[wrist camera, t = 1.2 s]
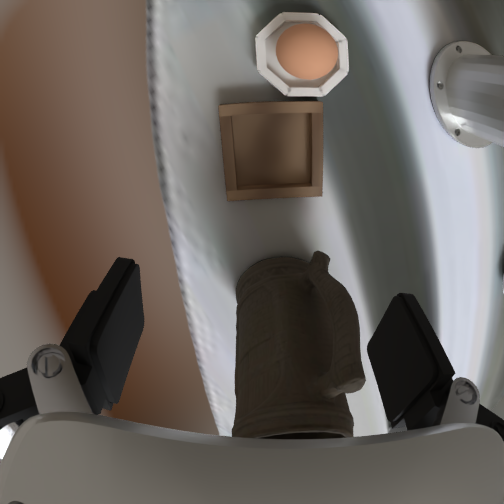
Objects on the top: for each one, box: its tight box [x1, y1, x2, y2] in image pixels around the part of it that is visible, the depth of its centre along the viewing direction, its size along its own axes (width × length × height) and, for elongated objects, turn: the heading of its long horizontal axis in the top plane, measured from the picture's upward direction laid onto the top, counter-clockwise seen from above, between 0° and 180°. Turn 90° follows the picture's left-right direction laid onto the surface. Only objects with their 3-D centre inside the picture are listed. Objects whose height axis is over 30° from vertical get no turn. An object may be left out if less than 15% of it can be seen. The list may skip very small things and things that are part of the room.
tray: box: [218, 101, 323, 201], centre depth 27 cm, size 9×9×2 cm
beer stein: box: [232, 251, 366, 440], centre depth 27 cm, size 15×11×20 cm
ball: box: [276, 24, 338, 80], centre depth 20 cm, size 5×5×5 cm
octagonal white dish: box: [255, 12, 349, 97], centre depth 22 cm, size 8×8×2 cm
